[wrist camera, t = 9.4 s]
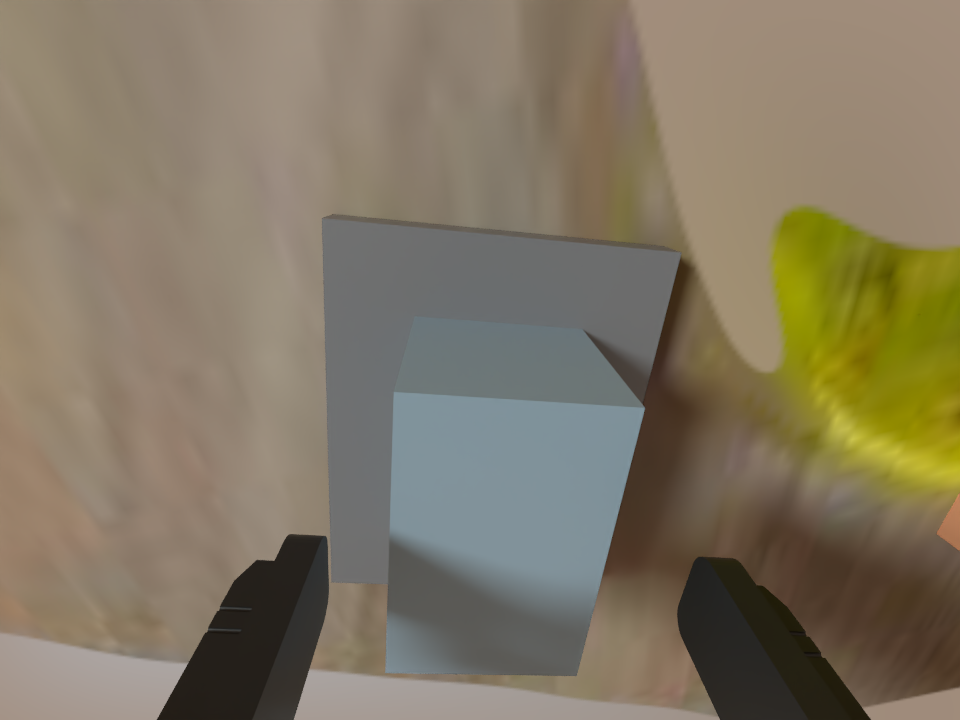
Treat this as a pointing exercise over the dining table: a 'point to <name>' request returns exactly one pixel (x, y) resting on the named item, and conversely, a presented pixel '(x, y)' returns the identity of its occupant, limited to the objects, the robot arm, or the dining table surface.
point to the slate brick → (502, 496)
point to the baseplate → (462, 296)
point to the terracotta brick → (952, 525)
